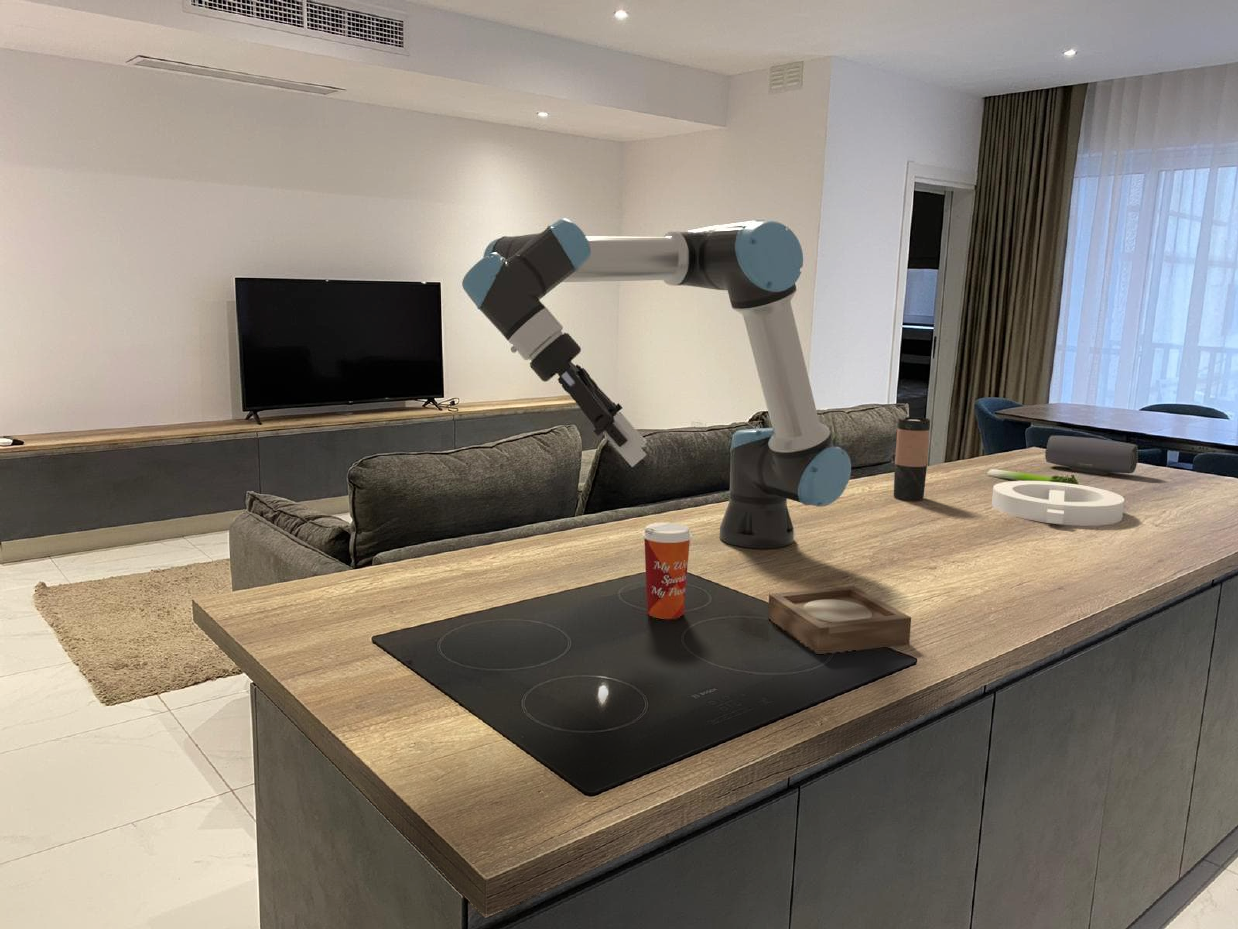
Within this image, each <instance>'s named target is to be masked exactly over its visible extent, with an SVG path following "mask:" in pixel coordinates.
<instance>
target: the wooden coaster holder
mask: <svg viewBox="0 0 1238 929" xmlns="http://www.w3.org/2000/svg"><path fill="white" fill-rule="evenodd" d="M767 607H768V610H767V611H768V612H767V620H769V619H770V620H771V621H770V620H769V621H770V622H772V623H773V624H774V623H775V624H774V625H776V624H777V625H778V626H777V625H776V626H777V627H779V626H780V627H781V628H782V630H783V631H784V630H786V631H787V632H786V633H787V634H788V633H789V634H788V635H790V634H791V635H790V636H791V637H792V636H793V637H792V638H794V637H795V638H796V639H797V641H798V640H799V641H800V642H799V641H798V642H799V643H801V644H802V643H803V644H804V645H803V644H802V645H803V646H805V647H806V648H807V647H809V648H810V649H809V648H808V649H809V650H810V651H812V650H813V651H814V652H815V653H814V652H813V651H812V652H813V653H814V654H816V653H817V654H825V655H827V654H826V653H832V654H837V653H836V652H840V653H846V652H845V651H848V652H853V651H852V650H856V651H863V650H870V649H877V648H886V647H894V646H901V645H909V644H910V640H911V639H910V638H911V627H912V626H911V625H912V617H911V616H910V615H907V614H906V613H905V612H903V611H901V610H899V609H896V608H895V607H893V606H891V605H889V604H887V603H886V602H884V601H882V600H880V599H879V598H876V597H875V596H873V595H871V594H869V593H868V592H866V591H864V590H862V589H860V588H858V587H857V586H855V585H848V586H847V585H846V586H838V587H837V586H836V587H828V588H818V589H816V588H815V589H809V590H798V591H797V590H795V591H789V592H788V591H787V592H778V593H769V594H768V606H767ZM780 627H779V628H780ZM781 628H780V629H781ZM795 638H794V639H795ZM796 639H795V640H796ZM833 652H834V653H833ZM817 654H816V655H817Z"/></svg>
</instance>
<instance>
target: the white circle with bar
mask: <svg viewBox="0 0 1238 929" xmlns="http://www.w3.org/2000/svg"><path fill="white" fill-rule="evenodd" d="M992 488H993V490H992V498H991V499H992V501H991V507H992V508H993V509H995V510H996V511H997V510H998V512H1000V513H1002V514H1004V513H1006V514H1005V515H1007V514H1008V516H1011V517H1015V518H1018V517H1019V519H1023V520H1027V521H1033V520H1034V521H1033V522H1040V523H1046V524H1056V525H1063V526H1064V525H1065V526H1066V525H1067V526H1086V527H1087V526H1104V525H1105V526H1106V525H1107V526H1108V525H1113V524H1117V523H1120V522H1121V521H1123V515H1124V506H1125V497H1123V496H1122V495H1120V494H1118V493H1116V492H1112V491H1110V490H1107V489H1102V488H1098V487H1093V486H1090V485H1083V484H1082V485H1081V484H1078V485H1077V484H1069V483H1060V482H1048V481H1021V480H1010V481H1004V482H998V483H996V484H994V485H993V487H992Z"/></svg>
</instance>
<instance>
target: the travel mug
mask: <svg viewBox="0 0 1238 929" xmlns="http://www.w3.org/2000/svg"><path fill="white" fill-rule="evenodd" d="M897 420H898V422H897V430H896V431H897V434H896V447H895V455H894V456H895V458H894V475H893V476H894V479H893V498H894V499H896V500H900V501H906V502H907V501H909V502H919V501H923V499H924V497H925V496H924V495H925V487H926V478H927V468H928V458H929V457H928V455H929V444H930V443H929V442H930V441H929V440H930V425H931V419H929V418H925V417H917V416H907V417H905V418H903V419H902V418H900V417H899V418H897Z"/></svg>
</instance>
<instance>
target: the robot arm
mask: <svg viewBox="0 0 1238 929" xmlns="http://www.w3.org/2000/svg"><path fill="white" fill-rule="evenodd" d="M803 266H804V253H803V249H802V246H801V242H800V240H799V239H798V237H797V235H796V234H795V233H794V231H793V230H791V228H789V227H788V226H786V225H784V224H783V223H782V222H778V221H775V220H774V221H773V220H763V219H761V220H759V219H755V220H749V221H743V222H734V223H727V224H726V223H724V224H716V225H712V226H705V227H701V228H696V229H689V230H680V231H679V230H678V231H677V230H676V231H675V230H671V231H668V232H666V233H665V234H664V235H663V236H586V234H585V233H584V231H583V230H582V229H581V228H580V227H579V226H578V225H577V224H576V223H575V222H574V221H572V220H570V219H568V218H560V219H558V220H557V221H554V222H553V223H552V224H550V225H549V224H548V226H547V228H545V229H544V230H543V231H542V232H540V233H539V232H538V233H531V234H529V233H528V234H524V235H514V236H513V235H512V236H506V235H505V236H501V237H499V238H496V239H494V240H492V241H491V242H490V243H489V244H488V245H487V247H486V248H485V249H484V252H483V258H481V259H479V261H478V262H477V261H476V263H475V264H473V266H472V267H471V268H470V269H469V270H468V271H467V272H466V274H465V275H464V276H463V279H462V284H461V286H462V288H463V290H464V292H465V293H466V294H467V296H468V297H469V299H470V300H471V302H473V304H475V306H476V308H477V309H478V310H480V312H481V313H482V314H483V315H484V316H485V317H486V318H487V320H489V321H490V323H491V324H492V325H493V326H494V327H495V328H496V329H497V331H498V332H500V334H501V335H502V336H503V337H504V338H505V340H506V341H507V342H509V344H510V345H512V346H511V347H510V351H511V353H513V354H516V353H518V354H519V355H520V357H522V359H523V360H524V361H530V362H529V365H530V366H529V367H530V369H531V370H532V371H533V372H534V373H535V374H536V375H537V377H538V378H539V379H541V381H542V382H548V381H550V380H551V379H553V377H555V376H556V375H558V378H557V381H558V383H559V384H560V385H561V388H562V389H563V390H564V391H565V392H566V393H567V394H568V395H570V397H571V398H572V399H573V401H574V402H575V403H576V404H577V406H578V407H579V408H580V409H581V411H582V412H583V413H584V415H585V416H586V417H587V419H588V420H589V421H590V422H591V423H592V425H593V427H594V430H593V432H594V433H595V434H596V435H597V436H598V437H599V436H601V434H602V435H603V436H604V437H605V438H606V439H607V440H608V441H609V443H610V444H611V445H612V446H613V447H614V448H615V449H616V451H617V452H618V453H619V454H620V455H621V456H622V457H623V459H624V460H625V461H626V462H627V463H628V465H630V466H631V467H632V468H633V467H634V466H635V465H637V464H638V463H639V462H640V461H641V460H643V459H644V458H645V457H646V456H647V453H646V452H645V451H644V450H643V447H644V446H645V445H646V444H647V443H648V442H647V440H646V439H645V438H644V437H643V436H642V435H641V433H639V431H638V430H637V429H636V428H635V426H634V425H632V423H631V422H630V421H629V420H628V419H627V417H626V416H625V415H624V414H623V412H621V410H622V409H623V406H622V405H621V404H620V403H619V402H618V403H617V404H616V403H615V402H613V401H612V400H611V399H610V397H608V395H607V394H606V393H605V392H604V391H603V390H602V389H601V388H600V387H599V386H598V385H597V383H596V381H595V380H594V379H593V378H591V376H590V374H589V372H588V371H587V370H586V369H585V368H584V367H581V366H580V365H579V364H576V365H575V364H574V363H573V362H572V361H573V360H574V359H575V358H576V357H577V356H579V354H580V353H581V351H582V350H581V349H582V348H581V346H579V344H578V343H577V341H576V340H574V338H572V336H571V335H570V334H569V333H568V332H563V331H562V330H563V329H564V328H563V324H561V323H560V322H559V321H558V319H557V318H556V317H555V316H554V315H553V314H552V312H551V311H550V310H549V309H548V308H547V307H546V306H545V305H544V304H543V303H542V302H541V299H542V298H544V297H545V296H546V295H548V294H549V293H550V292H551V291H552V290H554V289H555V288H556V287H557V286H558V285H560V284H561V283H582V282H583V283H585V282H589V283H590V282H592V283H594V282H628V281H629V282H633V281H634V282H637V281H639V282H641V281H642V282H643V281H663V282H664V283H665V284H667V285H668V286H674V287H675V286H687V287H696V288H702V289H709V290H717V291H727V294H728V297H729V302H730V306H731V308H732V310H734V311H736V312H738V313H739V314H741V315H742V316H743V319H744V320H743V321H744V324H745V327H746V332H747V336H748V339H749V343H750V347H751V352H752V355H753V358H754V361H755V362H754V363H755V367H756V371H757V374H758V379H759V382H760V385H761V389H762V394H763V397H764V401H765V404H766V408H767V412H768V415H769V420H770V424H771V427H766V428H765V427H763V428H750V429H749V428H747V429H740V430H736V431H735V432H734V433H733V435H732V438H731V446H730V450H729V451H730V462H729V463H730V469H729V473H730V474H729V501H728V505H727V507H726V510H725V513H724V515H723V517H722V519H721V520H722V521H721V523H720V526H719V539H720V540H721V541H722V542H724V543H726V544H729V545H733V546H736V547H742V548H749V549H777V548H785V547H788V546H790V545H791V544H793V543H794V540H795V532H794V531H795V529H794V525H793V522H792V519H791V515H790V511H789V507H788V500H790V501H794V502H797V503H801V504H803V505H805V506H814V507H817V508H818V507H821V508H822V507H827V506H828V505H831V504H833V503H835V502H836V501H838V500H839V498H840V497H841V496H842V495H843V493H844V492H845V490H846V487H847V485H848V484H849V481H850V478H851V474H852V462H851V458H850V456H849V453H847V452H846V450H843V449H842V448H841V447H839V446H835V445H834V442H833V438H832V433H831V430H830V427H828V426H827V425H825V424H824V423H822V422H820V419H819V416H818V412H817V407H816V403H815V399H814V395H813V390H812V387H811V383H810V378H809V374H808V369H807V366H806V362H805V358H804V353H803V349H802V345H801V340H800V336H799V332H798V327H797V324H796V320H795V314H794V311H793V310H794V309H793V306H792V301H791V300H792V299H793V298H794V296H795V294H796V293H797V291H798V290H797V285H796V282H798V280H799V278H800V276H801V274H802V271H801V268H803Z"/></svg>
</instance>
